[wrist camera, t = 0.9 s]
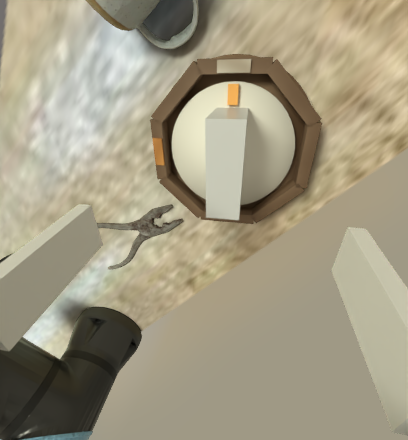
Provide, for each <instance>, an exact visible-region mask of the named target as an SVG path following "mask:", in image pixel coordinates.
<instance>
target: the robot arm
mask: <svg viewBox="0 0 408 440" xmlns="http://www.w3.org/2000/svg"><path fill="white" fill-rule="evenodd" d="M102 245H103V242H102V239H101V236H100V233H99V229H98V226H97V223H96V220H95V216H94V213H93V210H92V207H91V205H83V204H78V205H77V206H75V207H74V208H73V209H71V210H70V211H69V212H68V213H66V214H65V215H64V216H62V217H61V218H60V219H58V220H57V221H56V222H54V223H53V224H52V225H50V226H49V227H48V228H46V229H45V230H44V231H42V232H41V233H40V234H38V235H37V236H36V237H34V238H33V239H32V240H30V241H29V242H28V243H26V244H25V245H24V246H22V247H21V248H20V249H19V250H17V251H16V252H14V253H12V254H10V255H8V256H6V257H4V258H3V259H1V260H0V439H2V440H88V439H89V437H90V435H91V434H92V432H93V431H92V430H93V428H94V426H95V424H96V421H97V419H98V417H99V414H100V412H101V410H102V408H103V405H104V403H105V401H106V399H107V396H108V394H109V392H110V390H111V387H112V385H113V383H114V381H115V378H116V376H117V374H118V372H119V371H120V370H121V368H122V367H123V366H124V365H125V363H126V362H127V361H128V360H129V359H130V357H131V356H132V355H133V354H134V353H135V351H136V350H137V348H138V346H139V344H140V341H141V338H142V335H141V331H140V330H139V328H138V326H137V325H136V324H135V323H134V322H133V321H132V320H130V319H129V318H128V317H126V316H125V315H123V314H121V313H119V312H117V311H114V310H111V309H107V308H102V307H92V308H88V309H86V310H84V311H83V312H82V314H81V315H80V316H79V318H78V319H77V321H76V323H75V326H74V329H73V332H72V335H71V338H70V341H69V344H68V347H67V350H66V351H65V353H64V354H63V356H62V357H61V359H58V358H56V357H55V356H53V355H51V354H50V353H48V352H46V351H45V350H43V349H41V348H40V347H38V346H36V345H34V344H33V343H31V342H29V341H28V340H26V339H25V338H23V337H22V336H23V335H24V334H25V333H26V332H27V331H28V330H29V328H30V327H31V326H32V325H33V324H34V323H35V322H36V321H37V319H38V318H39V317H40V316H41V315H42V314H43V313H44V311H45V310H46V309H47V308H48V307H49V306H50V305H51V303H52V302H53V301H54V300H55V299H56V298H57V297H58V295H59V294H60V293H61V292H62V291H63V290H64V289H65V287H66V286H67V285H68V284H69V283H70V282H71V281H72V279H73V278H74V277H75V276H76V275H77V274H78V273H79V271H80V270H81V269H82V268H83V267H84V266H85V265H86V263H87V262H88V261H89V260H90V259H91V258H92V257H93V255H94V254H95V253H96V252H97V251H98V250H99V249H100V248H101V246H102ZM331 271H332V274H333V277H334V279H335V282H336V285H337V287H338V290H339V292H340V295H341V298H342V300H343V303H344V306H345V308H346V311H347V314H348V316H349V319H350V322H351V324H352V327H353V330H354V332H355V335H356V337H357V340H358V343H359V346H360V348H361V351H362V353H363V356H364V359H365V362H366V364H367V367H368V369H369V372H370V375H371V377H372V380H373V383H374V386H375V388H376V391H377V393H378V396H379V398H380V401H381V404H382V407H383V409H384V412H385V415H386V417H387V420H388V423H389V425H390V428H391V431H392V432H394V433H399V434H404V435H408V289H407V287H406V286H405V284H404V283H403V281H402V280H401V278H400V277H399V276H398V274H397V273H396V271H395V270H394V268H393V267H392V266H391V264H390V263H389V261H388V260H387V258H386V257H385V255H384V254H383V253H382V251H381V250H380V248H379V247H378V245H377V244H376V242H375V241H374V240H373V238H372V237H371V235H370V234H369V232H368V231H367V229H364V228H351V227H348V228H347V231H346V233H345V236H344V238H343V241H342V244H341V246H340V249H339V252H338V254H337V257H336V259H335V262H334V265H333V267H332V270H331Z"/></svg>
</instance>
